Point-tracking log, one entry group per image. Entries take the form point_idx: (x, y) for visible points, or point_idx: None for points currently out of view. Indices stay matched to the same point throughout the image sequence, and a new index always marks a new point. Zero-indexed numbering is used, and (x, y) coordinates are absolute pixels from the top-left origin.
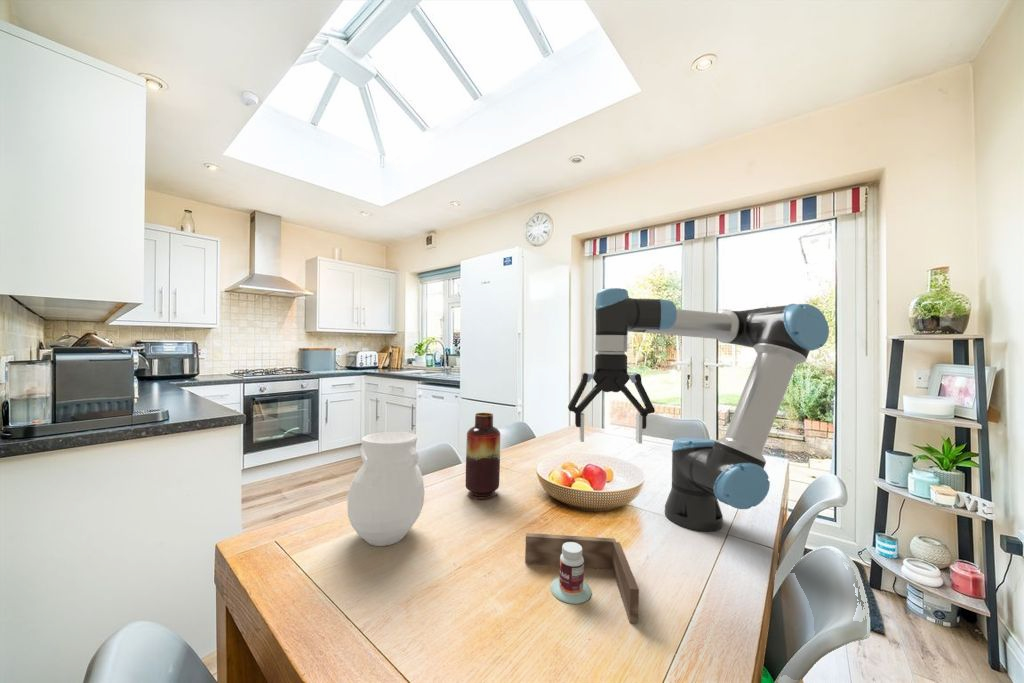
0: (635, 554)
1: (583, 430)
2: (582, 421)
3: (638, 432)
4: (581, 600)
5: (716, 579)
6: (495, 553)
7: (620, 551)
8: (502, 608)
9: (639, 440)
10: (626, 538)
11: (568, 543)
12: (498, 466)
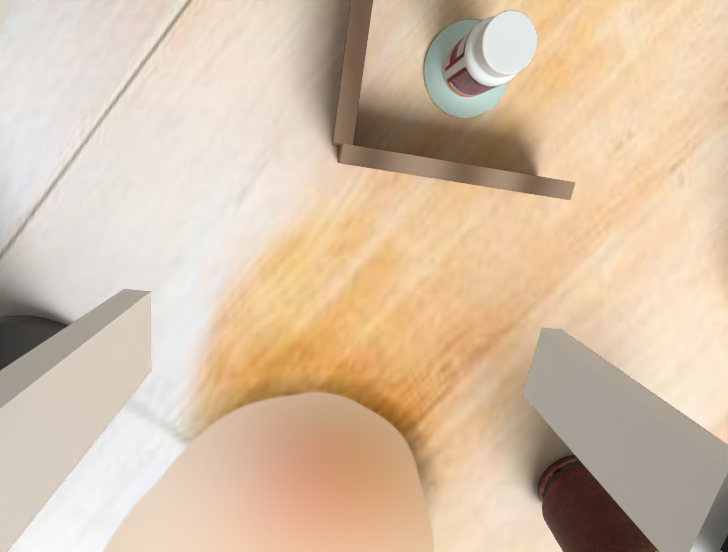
0: (268, 208)
1: (599, 366)
2: (674, 413)
3: (107, 340)
4: (457, 25)
5: (97, 92)
6: (592, 219)
7: (348, 90)
8: (619, 19)
9: (134, 299)
10: (266, 281)
11: (514, 63)
12: (585, 543)
